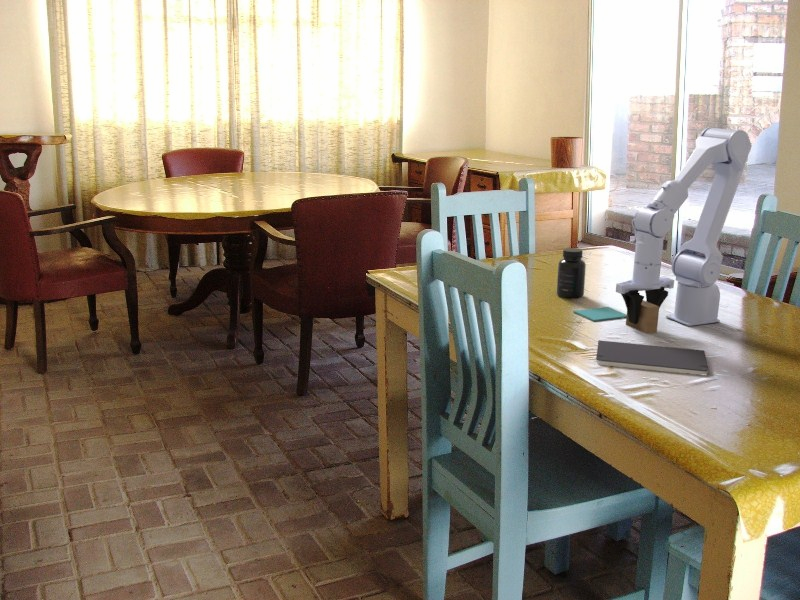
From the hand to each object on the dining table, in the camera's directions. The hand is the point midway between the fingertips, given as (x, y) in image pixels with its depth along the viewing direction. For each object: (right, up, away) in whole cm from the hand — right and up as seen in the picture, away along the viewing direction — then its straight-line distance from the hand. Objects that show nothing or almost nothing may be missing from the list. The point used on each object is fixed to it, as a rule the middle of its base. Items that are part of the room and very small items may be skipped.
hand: (641, 321), depth 193 cm
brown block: (0, -2, 0) cm, 2 cm away
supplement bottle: (-11, +6, +26) cm, 29 cm away
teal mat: (-7, +1, +10) cm, 12 cm away
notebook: (-4, -8, -20) cm, 22 cm away
